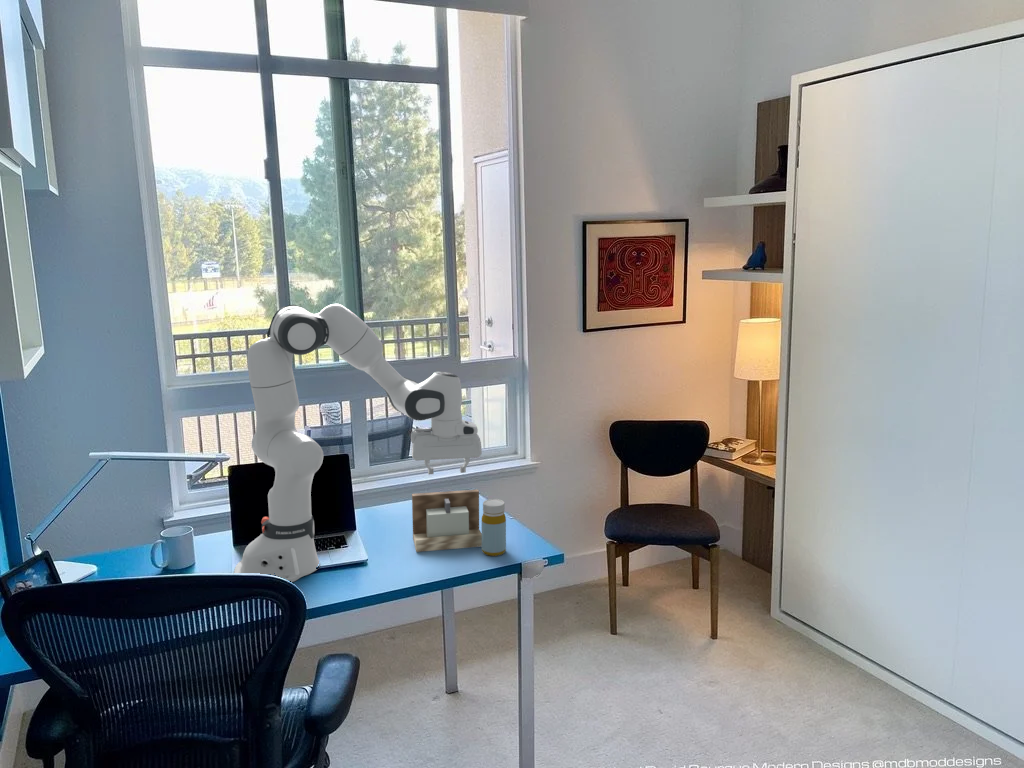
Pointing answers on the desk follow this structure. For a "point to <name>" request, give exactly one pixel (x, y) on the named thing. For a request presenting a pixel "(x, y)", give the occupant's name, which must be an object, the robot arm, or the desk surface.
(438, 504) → the wall board
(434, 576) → the desk surface
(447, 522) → the white knobbed block
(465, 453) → the robot arm
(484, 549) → the bottle
